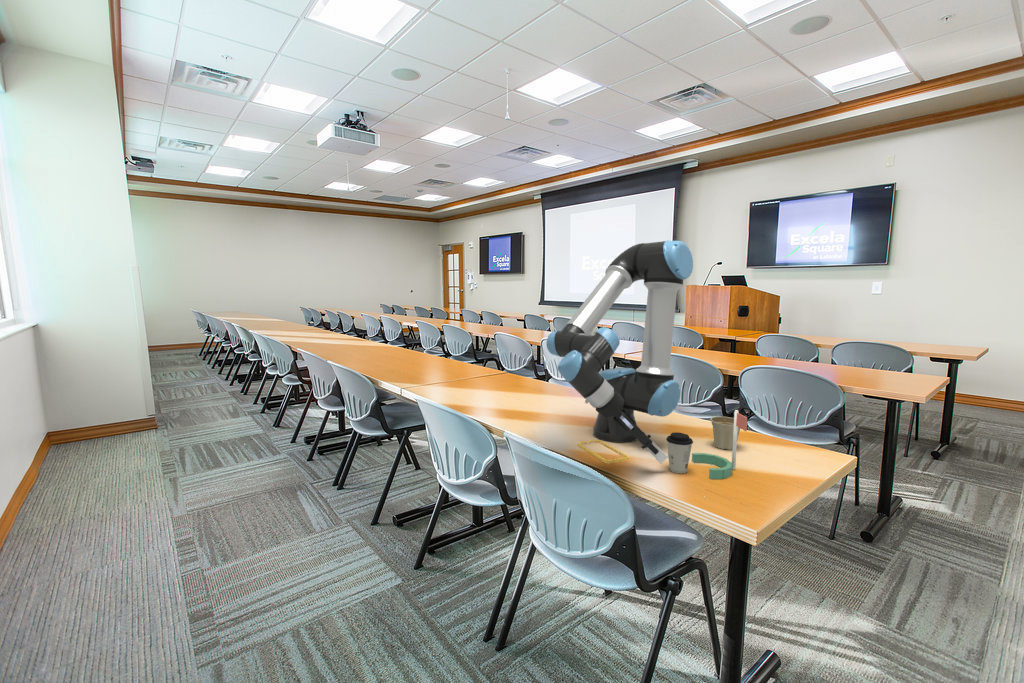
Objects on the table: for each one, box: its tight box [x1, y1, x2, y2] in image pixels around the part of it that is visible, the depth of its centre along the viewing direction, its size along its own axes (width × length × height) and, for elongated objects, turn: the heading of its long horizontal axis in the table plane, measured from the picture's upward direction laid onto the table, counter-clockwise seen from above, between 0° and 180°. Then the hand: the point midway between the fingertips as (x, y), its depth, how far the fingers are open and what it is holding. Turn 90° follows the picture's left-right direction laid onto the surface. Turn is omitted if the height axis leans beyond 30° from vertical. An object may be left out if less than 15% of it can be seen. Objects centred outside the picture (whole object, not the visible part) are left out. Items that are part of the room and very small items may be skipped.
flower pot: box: [709, 416, 742, 451], centre depth 143 cm, size 9×9×9 cm
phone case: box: [577, 439, 630, 464], centre depth 139 cm, size 8×17×1 cm, turn 22°
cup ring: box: [691, 452, 733, 480], centre depth 125 cm, size 12×8×2 cm, turn 1°
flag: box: [731, 409, 748, 471], centre depth 122 cm, size 6×1×17 cm, turn 1°
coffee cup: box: [665, 431, 694, 475], centre depth 124 cm, size 7×7×10 cm
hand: (663, 459), depth 123 cm, fingers closed
